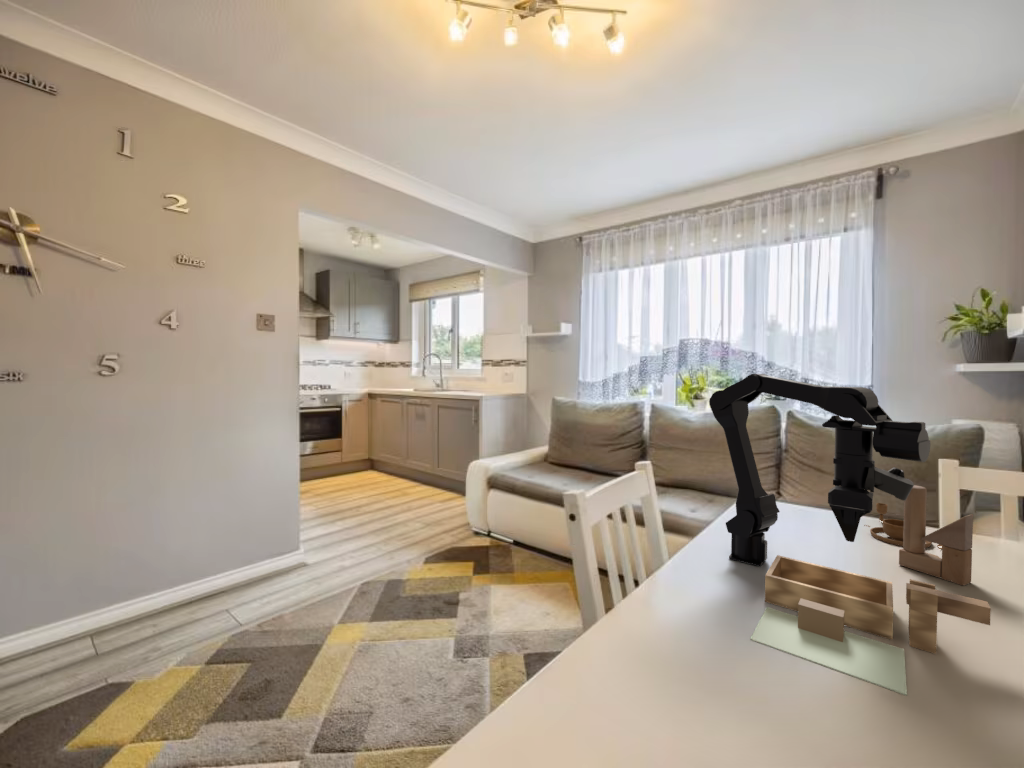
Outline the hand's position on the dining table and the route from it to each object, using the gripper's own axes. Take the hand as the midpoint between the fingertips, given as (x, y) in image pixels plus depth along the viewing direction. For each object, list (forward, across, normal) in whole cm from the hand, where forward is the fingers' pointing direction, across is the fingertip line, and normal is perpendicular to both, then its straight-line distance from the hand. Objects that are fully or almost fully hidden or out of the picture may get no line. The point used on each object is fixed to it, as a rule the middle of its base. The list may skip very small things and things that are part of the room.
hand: (851, 534), depth 83 cm
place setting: (+13, +49, -9) cm, 52 cm away
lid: (+13, -22, +2) cm, 25 cm away
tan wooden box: (+12, -7, +1) cm, 14 cm away
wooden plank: (+6, -11, -12) cm, 17 cm away
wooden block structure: (+12, +24, -13) cm, 30 cm away
